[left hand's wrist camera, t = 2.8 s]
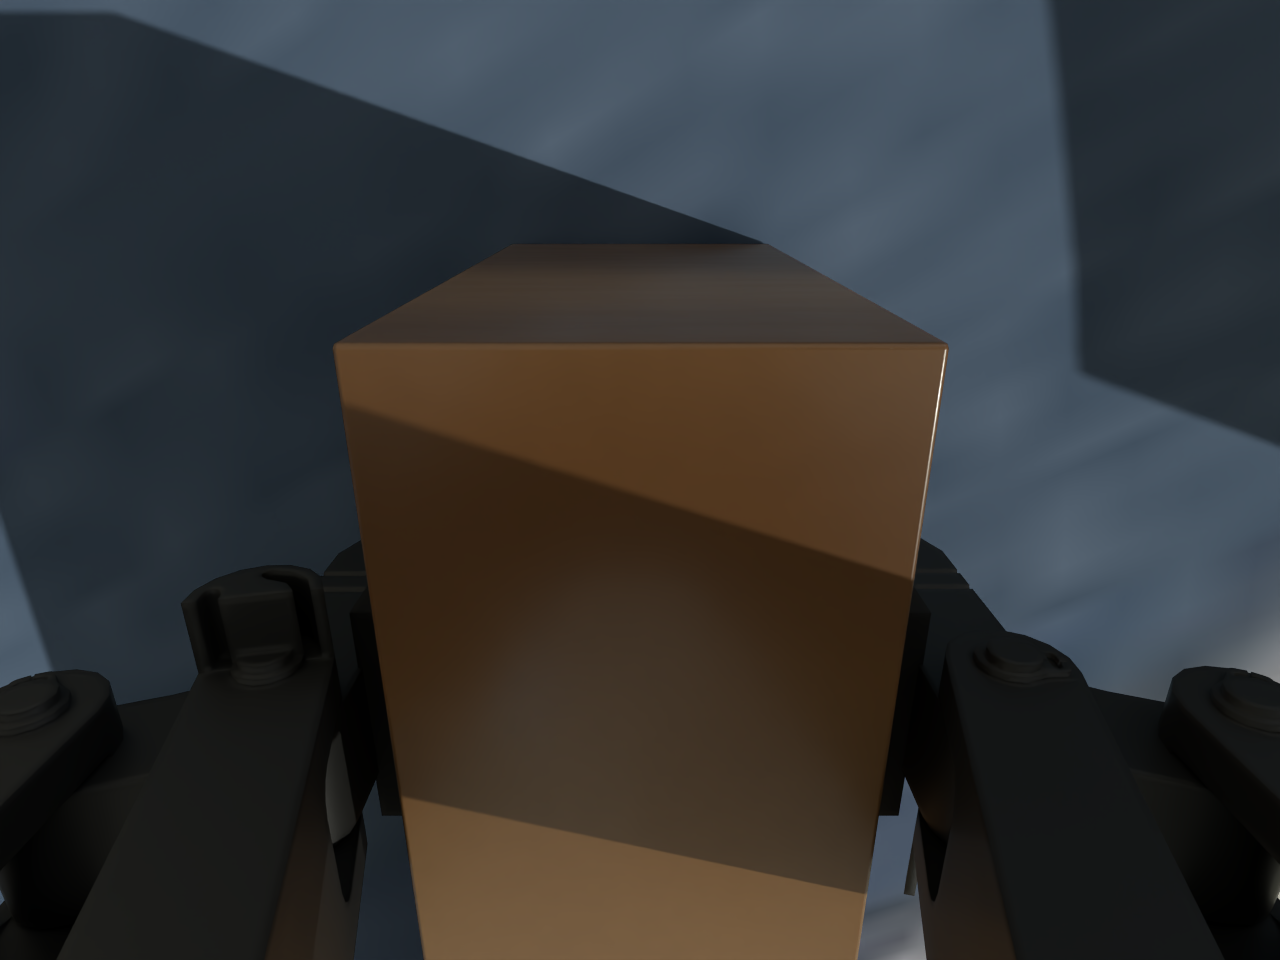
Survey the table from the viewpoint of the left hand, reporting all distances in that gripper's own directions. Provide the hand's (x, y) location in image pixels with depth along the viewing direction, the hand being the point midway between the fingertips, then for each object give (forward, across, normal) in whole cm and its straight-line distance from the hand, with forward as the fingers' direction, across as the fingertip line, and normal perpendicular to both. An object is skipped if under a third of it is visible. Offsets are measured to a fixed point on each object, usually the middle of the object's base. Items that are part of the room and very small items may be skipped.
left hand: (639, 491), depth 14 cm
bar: (+1, 0, -7) cm, 7 cm away
